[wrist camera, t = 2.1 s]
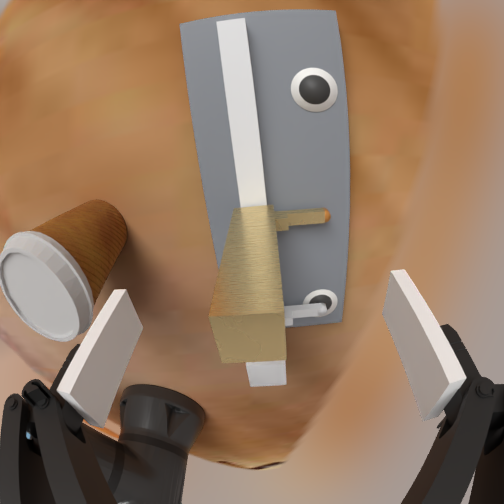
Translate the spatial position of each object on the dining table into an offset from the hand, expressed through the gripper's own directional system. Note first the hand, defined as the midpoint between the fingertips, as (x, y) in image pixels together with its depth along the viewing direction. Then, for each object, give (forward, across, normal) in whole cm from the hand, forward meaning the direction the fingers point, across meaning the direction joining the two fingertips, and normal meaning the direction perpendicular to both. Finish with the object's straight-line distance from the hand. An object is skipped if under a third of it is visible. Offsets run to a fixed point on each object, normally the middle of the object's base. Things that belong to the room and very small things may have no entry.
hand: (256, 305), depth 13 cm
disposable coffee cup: (+13, +16, 0) cm, 21 cm away
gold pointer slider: (+11, -2, 0) cm, 11 cm away
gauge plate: (+13, -2, -2) cm, 13 cm away
